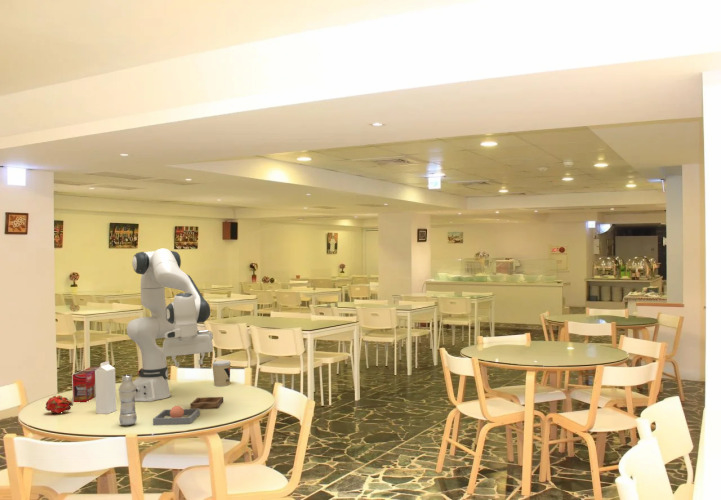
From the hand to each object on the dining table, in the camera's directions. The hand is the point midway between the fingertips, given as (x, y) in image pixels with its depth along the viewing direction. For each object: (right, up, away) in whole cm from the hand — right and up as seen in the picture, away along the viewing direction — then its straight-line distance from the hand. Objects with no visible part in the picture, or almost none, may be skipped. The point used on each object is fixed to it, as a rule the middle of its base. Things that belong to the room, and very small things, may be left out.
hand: (189, 365), depth 261 cm
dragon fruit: (-62, -24, +17) cm, 69 cm away
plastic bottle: (-23, -23, -7) cm, 33 cm away
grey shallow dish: (-5, -22, 0) cm, 23 cm away
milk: (-41, -24, +16) cm, 50 cm away
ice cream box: (-62, -25, +47) cm, 82 cm away
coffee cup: (-1, -23, +68) cm, 71 cm away
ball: (-5, -20, 0) cm, 20 cm away
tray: (+2, -22, +23) cm, 32 cm away
